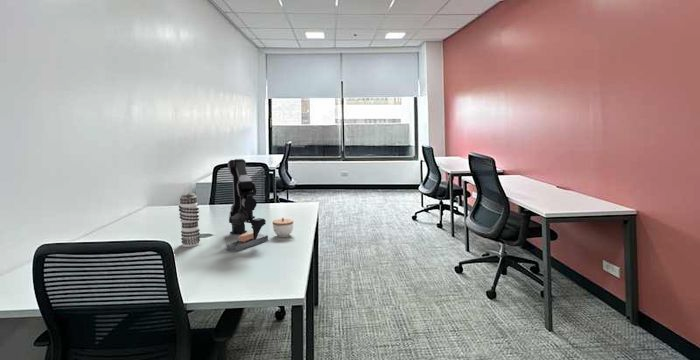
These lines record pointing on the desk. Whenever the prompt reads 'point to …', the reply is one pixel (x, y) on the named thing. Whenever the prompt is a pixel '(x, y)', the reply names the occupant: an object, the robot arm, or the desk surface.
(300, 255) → the desk surface
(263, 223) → the robot arm
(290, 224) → the lidded jar
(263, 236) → the rail
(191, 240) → the ribbed stacked tower
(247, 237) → the peach rectangular block
